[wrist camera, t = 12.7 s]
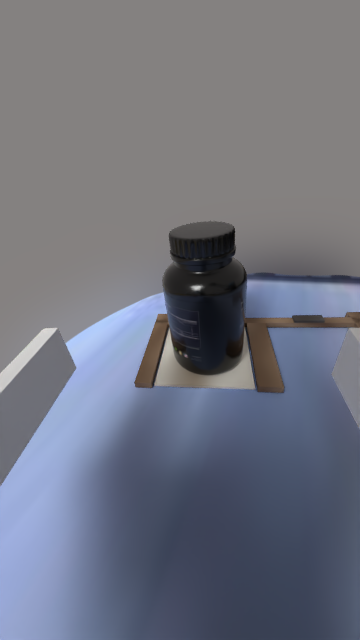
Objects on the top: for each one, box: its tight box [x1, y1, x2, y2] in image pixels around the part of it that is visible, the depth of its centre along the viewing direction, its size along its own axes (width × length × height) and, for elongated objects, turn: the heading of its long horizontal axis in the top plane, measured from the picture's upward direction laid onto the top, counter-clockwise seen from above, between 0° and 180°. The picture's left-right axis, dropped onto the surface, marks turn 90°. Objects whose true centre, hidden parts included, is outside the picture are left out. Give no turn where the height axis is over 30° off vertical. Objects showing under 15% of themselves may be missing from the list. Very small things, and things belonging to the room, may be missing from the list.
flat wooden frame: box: [134, 312, 360, 393], centre depth 24 cm, size 23×11×1 cm, turn 83°
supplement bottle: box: [162, 221, 247, 375], centre depth 21 cm, size 7×7×12 cm
